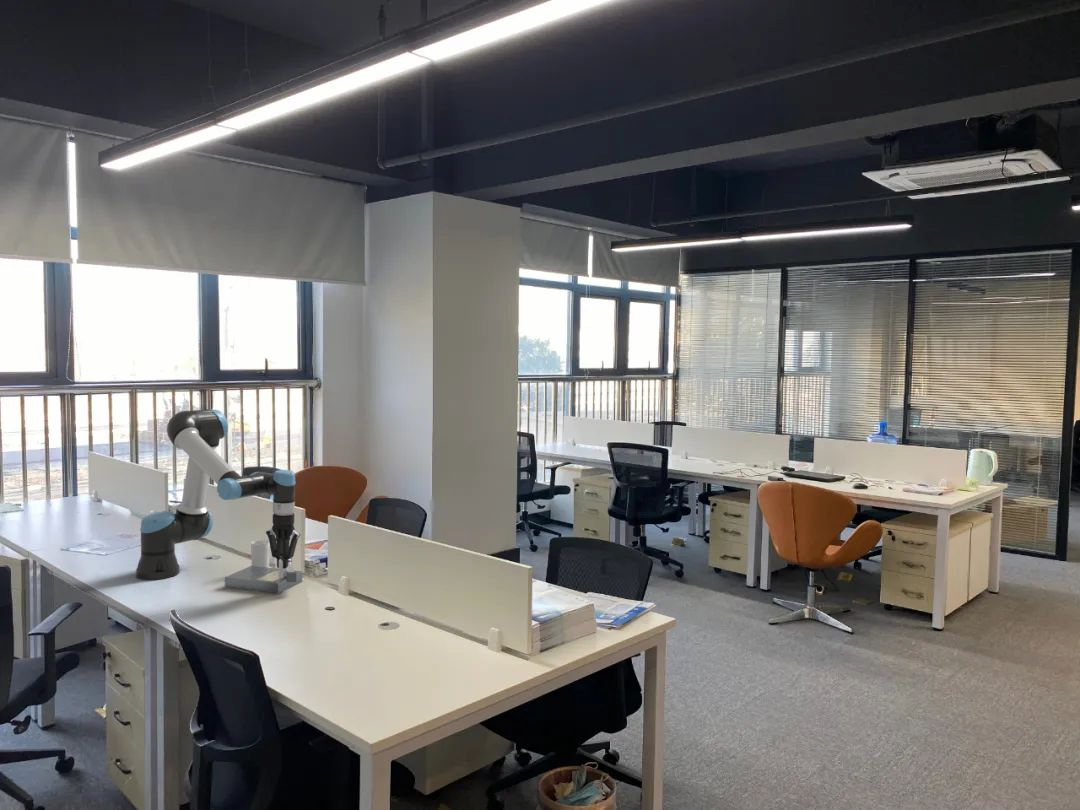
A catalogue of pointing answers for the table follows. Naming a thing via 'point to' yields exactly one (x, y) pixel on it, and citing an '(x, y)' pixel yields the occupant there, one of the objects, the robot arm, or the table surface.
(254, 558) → the mug
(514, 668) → the table surface
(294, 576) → the cable arm
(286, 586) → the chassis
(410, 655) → the table surface
